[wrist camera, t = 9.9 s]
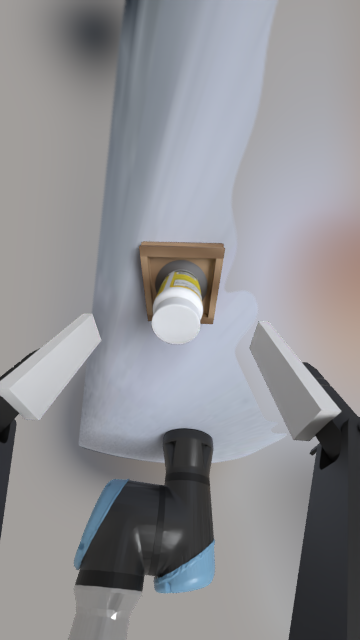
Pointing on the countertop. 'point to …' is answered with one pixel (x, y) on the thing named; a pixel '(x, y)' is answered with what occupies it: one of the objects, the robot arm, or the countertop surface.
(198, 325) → the supplement bottle
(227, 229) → the countertop surface
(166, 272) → the dock board
